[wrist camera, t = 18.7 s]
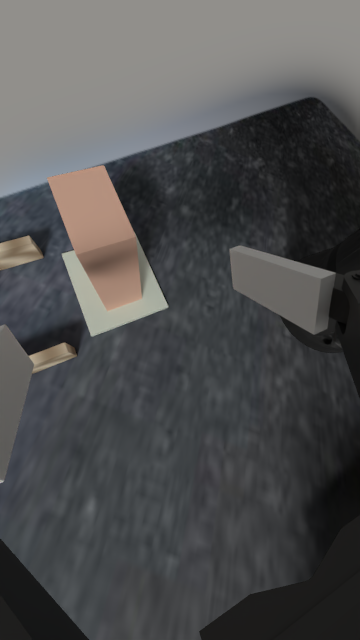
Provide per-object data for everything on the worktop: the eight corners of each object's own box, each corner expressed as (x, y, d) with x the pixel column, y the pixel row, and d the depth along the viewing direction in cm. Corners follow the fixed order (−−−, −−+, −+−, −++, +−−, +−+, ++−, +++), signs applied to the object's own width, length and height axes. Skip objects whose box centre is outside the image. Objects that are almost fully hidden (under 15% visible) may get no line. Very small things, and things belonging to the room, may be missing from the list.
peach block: (121, 251, 34) (103, 165, 21) (142, 298, 33) (136, 236, 19) (88, 262, 33) (46, 177, 20) (107, 311, 32) (75, 254, 18)
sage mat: (134, 234, 36) (134, 232, 36) (168, 307, 33) (168, 306, 33) (62, 255, 34) (61, 253, 33) (92, 336, 31) (91, 336, 30)
